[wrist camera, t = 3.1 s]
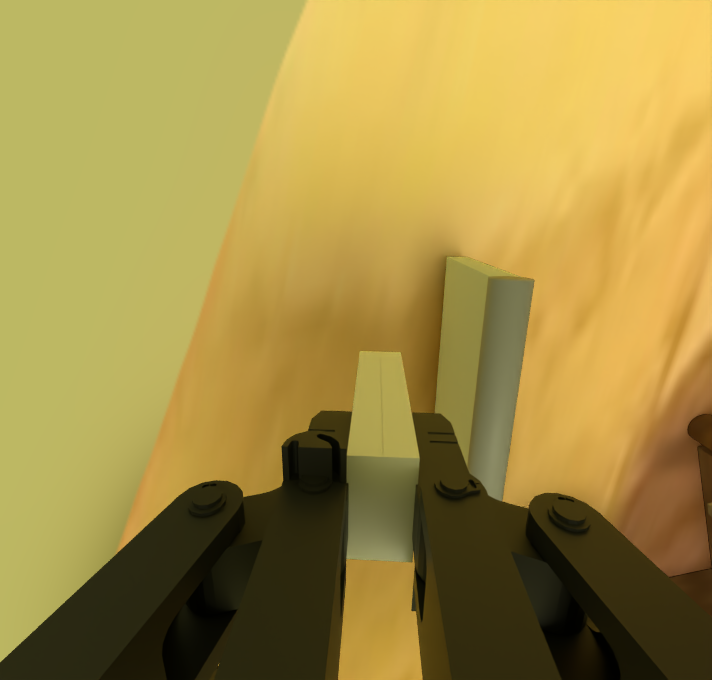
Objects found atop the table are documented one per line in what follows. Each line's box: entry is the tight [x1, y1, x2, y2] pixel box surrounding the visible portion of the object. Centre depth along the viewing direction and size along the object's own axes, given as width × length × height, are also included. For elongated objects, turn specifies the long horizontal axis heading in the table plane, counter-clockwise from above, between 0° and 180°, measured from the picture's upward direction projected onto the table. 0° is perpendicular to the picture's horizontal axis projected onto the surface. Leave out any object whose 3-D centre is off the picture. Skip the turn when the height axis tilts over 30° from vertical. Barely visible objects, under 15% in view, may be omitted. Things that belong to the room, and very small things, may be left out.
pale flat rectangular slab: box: [435, 257, 534, 501], centre depth 21 cm, size 17×2×11 cm, turn 179°
